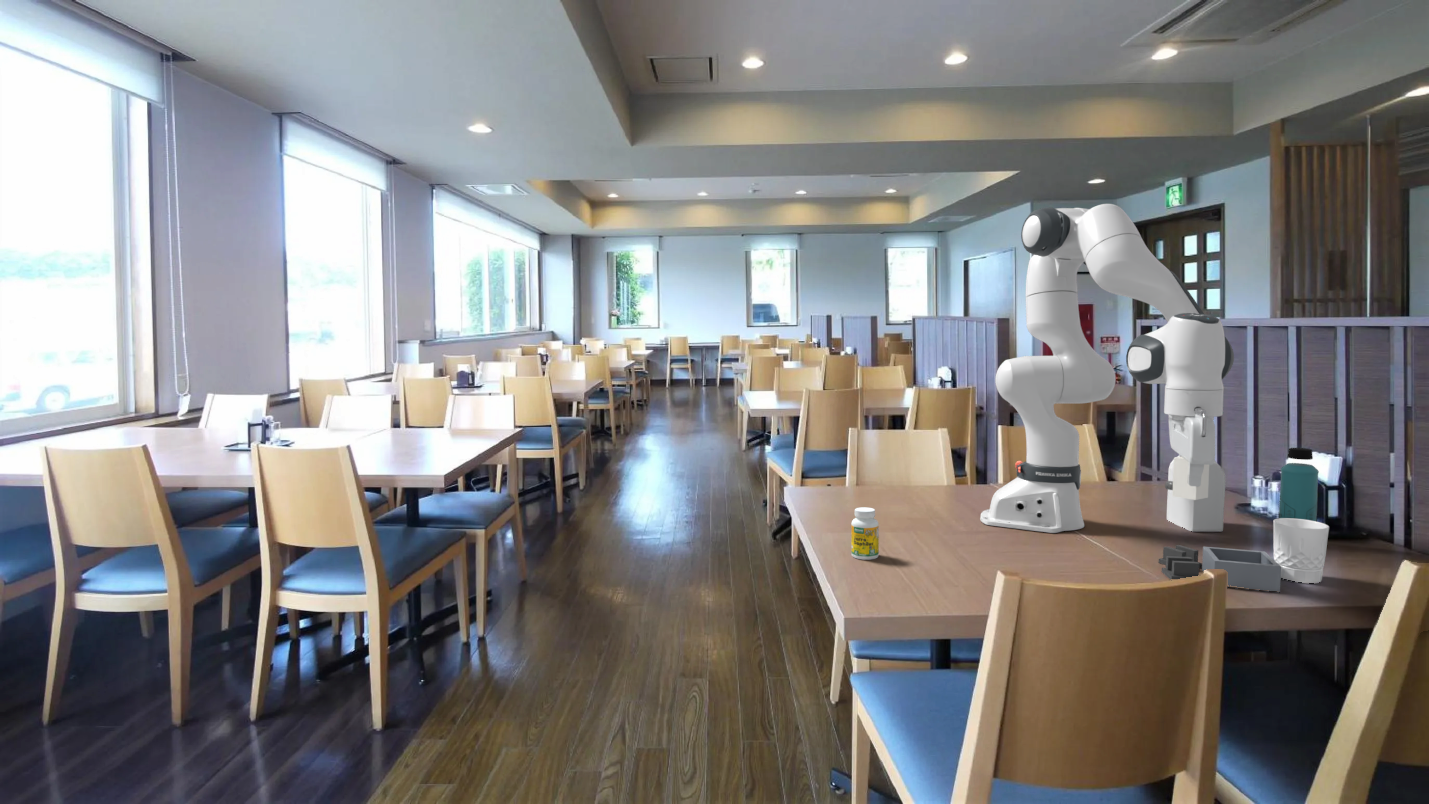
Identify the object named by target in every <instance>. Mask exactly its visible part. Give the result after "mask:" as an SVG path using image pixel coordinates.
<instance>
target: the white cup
mask: <svg viewBox="0 0 1429 804" xmlns="http://www.w3.org/2000/svg"><path fill="white" fill-rule="evenodd" d="M1272 522H1273V525H1272V528H1273V530H1272V532H1273V537H1272V539H1273V540H1272V543H1273V545H1272V546H1273V559H1274V560H1275V561H1276V562H1277V563H1278V564H1279V565H1280V566H1281V578H1283V579H1282V580H1284V579H1287V580H1286V581H1288V580H1292V581H1295V582H1294V583H1298V582H1302V583H1301V584H1309V583H1314V584H1320V583H1321V582H1322V581H1323V572H1324V567H1325V562H1326V556H1327V545H1328V538H1329V532H1330V526H1329V525H1328V524H1326V523H1323V522H1319V521H1317V522H1316V521H1311V520H1304V519H1293V518H1280V519H1279V518H1275V519H1273V521H1272ZM1292 581H1291V582H1292ZM1319 582H1320V583H1319Z"/></svg>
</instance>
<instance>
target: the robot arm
mask: <svg viewBox="0 0 1429 804" xmlns="http://www.w3.org/2000/svg"><path fill="white" fill-rule="evenodd" d="M1020 235H1021V236H1020V237H1021V242H1022V243H1021V244H1022V245H1023V246H1022V247H1023V248H1024V249H1025V251H1026V252H1028V253H1029V254H1031V255H1032V256H1031V257H1030V259H1029V261H1028V263H1027V271H1026V276H1025V277H1026V278H1025V314H1026V316H1025V317H1026V319H1025V320H1026V323H1025V324H1026V328H1027V331H1028V332H1029V335H1031V336H1032V337H1034V339H1036V340H1039V341H1041V342H1043V343H1045V344H1046V345H1047V346H1048V347H1049V349H1050V350H1051V352H1052V355H1025V356H1024V355H1023V356H1018V357H1013V358H1010V359H1009V358H1008V359H1005V360H1004V361H1003V362H1002V363H1001V364H1000V365H999V366H998V369H997V371H996V374H995V378H994V379H995V387H996V389H997V392H998V393H999V395H1000V397H1001V398H1002V399H1003V400H1004V401H1006V402H1008V403H1009V404H1010V405H1011V406H1012V407H1013V408H1014V409H1015V410H1016V411H1017V413H1018V415H1019V416H1020V419H1021V420H1022V422H1023V423H1022V424H1023V426H1024V429H1025V430H1024V431H1025V439H1026V440H1025V441H1026V442H1025V443H1026V461H1022V460H1018V461H1016V462H1015V465H1014V467H1015V469H1016V477H1015V478H1014V479H1012V480H1011V481H1009V482H1008V483H1006V484H1005V485H1003V486H1001V487H1000V488H999V489H997V490H996V491H995V492H994V494H993V495H992V497H991V501H990V506H989V509H985V510H982V511H981V513H980V517H979V520H980V522H982V524H985V525H987V526H992V527H993V526H995V527H1003V528H1010V529H1017V530H1026V531H1035V532H1042V533H1043V532H1044V533H1051V534H1056V533H1061V532H1064V531H1065V532H1067V531H1075V530H1076V531H1077V530H1080V529H1083V528H1084V527H1085V525H1086V524H1085V522H1084V518H1083V514H1082V510H1081V503H1080V492H1079V491H1080V489H1081V485H1082V484H1081V483H1082V469H1081V464H1080V463H1079V460H1080V459H1079V457H1080V433H1079V431H1078V430H1077V429H1078V428H1076V426H1074V425H1073V424H1072V423H1070V422H1068V421H1067V420H1065V419H1063V418H1061V417H1059V416H1057V415H1056V412H1055V409H1054V407H1055V404H1087V403H1088V404H1089V403H1094V402H1099V401H1103V400H1106V399H1107V398H1108V397H1109V396H1110V395H1111V394H1112V392H1113V391H1114V389H1115V387H1116V386H1115V385H1116V372H1115V369H1114V367H1113V366H1112V364H1111V362H1109V361H1108V360H1107V359H1106V358H1105V357H1102V356H1101V355H1100V354H1099V353H1098V352H1097V351H1095V350H1094V349H1093V347H1092V346H1091V344H1090V343H1089V342H1088V340H1087V339H1086V336H1085V334H1084V332H1083V329H1082V326H1081V319H1080V311H1079V296H1078V294H1079V293H1078V281H1077V275H1078V271H1079V268H1080V267H1081V266H1082V265H1083V264H1084V265H1085V266H1086V267H1087V270H1088V272H1089V275H1090V277H1091V278H1092V279H1093V281H1094V282H1095V284H1097V285H1098V286H1099V288H1101V289H1102V290H1103V291H1106V292H1108V293H1110V294H1114V295H1116V296H1120V297H1121V296H1122V297H1126V298H1130V299H1132V300H1133V299H1134V300H1136V301H1140V302H1142V303H1145V304H1148V305H1149V306H1152V307H1153V308H1155V309H1156V310H1158V311H1159V312H1160V313H1161V314H1162V316H1163V317H1164V319H1165V320H1166V322H1167V323H1166V324H1164V325H1162V326H1161V327H1159V328H1158V329H1155V330H1153V331H1150V332H1148V333H1147V332H1146V333H1145V334H1140V335H1138V336H1137V337H1135V338H1134V339H1133V340H1132V342H1130V344H1129V346H1128V348H1127V351H1126V356H1125V359H1126V360H1125V361H1126V362H1125V363H1126V367H1127V370H1128V372H1129V374H1130V375H1131V377H1132V378H1133V379H1134V380H1135V381H1137V382H1139V383H1144V384H1149V385H1152V384H1153V385H1157V384H1159V385H1163V384H1164V385H1165V386H1164V403H1163V407H1164V408H1163V413H1164V414H1165V415H1167V416H1168V434H1169V436H1168V437H1169V444H1170V448H1171V449H1172V450H1173V451H1174V452H1175V453H1176V454H1178V456H1179V457H1181V456H1182V457H1183V458H1185V459H1186V460H1187V461H1188V466H1189V474H1188V482H1187V483H1188V484H1189V485H1190V486H1196V487H1198V486H1200V485H1201V476H1202V473H1203V469H1204V465H1212V464H1213V463H1214V460H1215V461H1216V425H1215V421H1214V420H1215V417H1222V416H1223V414H1224V410H1223V409H1224V389H1225V388H1224V383H1223V380H1224V378H1226V376H1228V374H1229V373H1230V371H1231V369H1232V367H1233V365H1234V361H1235V354H1234V353H1235V352H1234V349H1233V347H1232V344H1231V343H1230V341H1229V340H1228V339H1227V337H1226V336H1225V330H1224V325H1223V323H1222V321H1221V319H1220V318H1218V317H1217V316H1214V315H1212V314H1206V313H1205V312H1204V311H1203V310H1202V309H1201V306H1200V305H1199V304H1198V303H1197V301H1196V300H1195V298H1194V297H1193V296H1192V294H1191V293H1190V291H1189V290H1188V288H1187V287H1186V285H1185V284H1184V282H1183V281H1182V280H1181V279H1180V278H1179V277H1178V276H1177V274H1175V272H1174V271H1172V270H1171V269H1170V268H1169V267H1166V266H1165V265H1164V264H1163V263H1162V262H1161V261H1160V260H1159V259H1158V258H1157V257H1155V255H1154V254H1153V253H1152V252H1151V251H1150V249H1149V248H1148V247H1147V245H1146V243H1145V241H1144V240H1143V238H1142V235H1141V234H1140V232H1139V230H1138V228H1137V227H1136V224H1135V223H1134V222H1133V221H1132V219H1131V218H1130V216H1129V215H1128V214H1127V213H1126V211H1124V209H1123V208H1122V207H1120V205H1119V206H1118V205H1116V204H1113V203H1102V204H1098V205H1096V206H1093V207H1091V208H1085V207H1084V208H1082V207H1074V208H1071V207H1068V208H1067V207H1061V208H1060V207H1059V208H1054V207H1043V208H1038V209H1035V210H1033V211H1032V212H1030V213H1029V214H1028V216H1027V217H1026V218H1025V220H1024V222H1023V224H1022V227H1021V233H1020Z"/></svg>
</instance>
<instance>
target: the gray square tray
mask: <svg viewBox="0 0 1429 804" xmlns="http://www.w3.org/2000/svg"><path fill="white" fill-rule="evenodd" d="M1201 563H1202V568H1201V571H1202V572H1203V571H1204V570H1206V569H1224V570H1226V571H1227V572H1228V585H1229V587H1230V585H1231V586H1237V587H1244V588H1249V589H1260V590H1269V591H1279V592H1280V593H1281V566H1280V565H1279V564H1278V563H1277V562H1276V561H1275V560H1274V557H1272V556H1270V555H1269V554H1268V553H1267V552H1266V551H1261V550H1249V549H1237V548H1228V547H1227V548H1224V547H1213V546H1203V547H1202V562H1201ZM1249 589H1248V590H1249ZM1269 591H1268V592H1269ZM1279 592H1278V593H1279Z"/></svg>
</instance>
